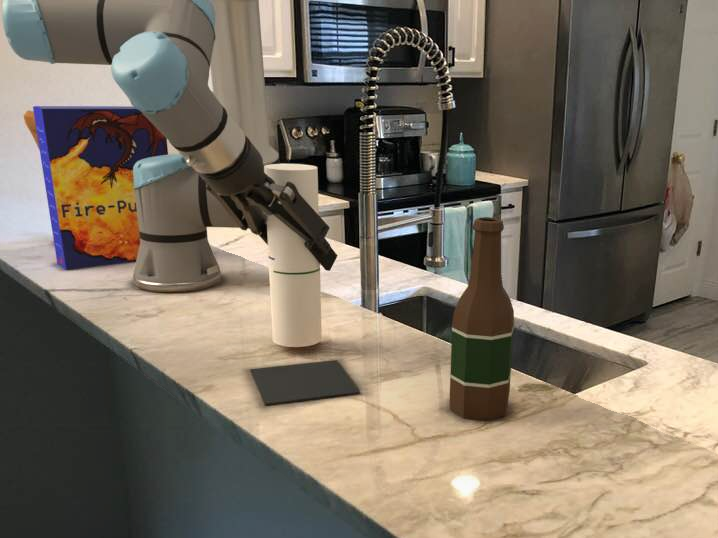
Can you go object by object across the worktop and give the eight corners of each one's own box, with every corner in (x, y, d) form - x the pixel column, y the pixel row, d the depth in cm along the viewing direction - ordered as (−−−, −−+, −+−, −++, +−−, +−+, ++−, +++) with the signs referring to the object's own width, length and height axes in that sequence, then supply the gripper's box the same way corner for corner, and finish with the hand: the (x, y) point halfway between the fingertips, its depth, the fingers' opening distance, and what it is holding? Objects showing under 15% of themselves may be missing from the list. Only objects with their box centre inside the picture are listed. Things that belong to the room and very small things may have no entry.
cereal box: (66, 270, 147) (41, 107, 137) (57, 263, 151) (32, 105, 141) (178, 256, 161) (163, 107, 150) (167, 250, 165) (152, 105, 154)
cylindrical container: (307, 328, 118) (302, 163, 109) (330, 341, 113) (327, 169, 104) (264, 336, 114) (255, 164, 105) (286, 350, 108) (278, 171, 100)
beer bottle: (520, 405, 98) (534, 219, 89) (490, 427, 91) (501, 228, 83) (468, 391, 101) (477, 210, 93) (436, 411, 95) (442, 219, 86)
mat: (250, 371, 104) (250, 369, 104) (336, 361, 109) (336, 360, 109) (265, 405, 94) (265, 403, 94) (359, 393, 99) (359, 391, 99)
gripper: (146, 169, 96) (246, 269, 115) (270, 186, 87) (355, 291, 107) (175, 123, 98) (268, 229, 117) (299, 135, 90) (377, 247, 109)
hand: (309, 258), depth 112 cm, fingers closed on cylindrical container, 7 cm apart
